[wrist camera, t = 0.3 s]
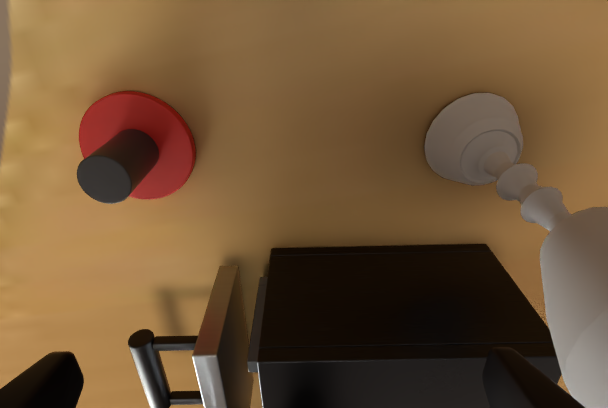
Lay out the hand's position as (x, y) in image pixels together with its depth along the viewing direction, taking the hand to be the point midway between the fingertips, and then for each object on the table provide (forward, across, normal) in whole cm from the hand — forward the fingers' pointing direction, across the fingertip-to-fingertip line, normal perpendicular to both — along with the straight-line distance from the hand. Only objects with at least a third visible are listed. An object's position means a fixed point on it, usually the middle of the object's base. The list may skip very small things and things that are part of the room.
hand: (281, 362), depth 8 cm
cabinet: (+14, -5, +13) cm, 20 cm away
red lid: (+14, +8, 0) cm, 17 cm away
